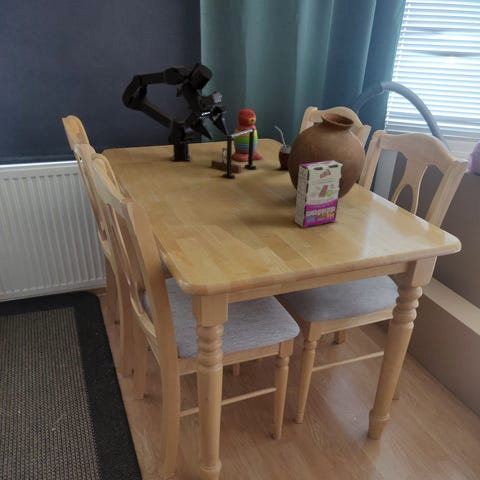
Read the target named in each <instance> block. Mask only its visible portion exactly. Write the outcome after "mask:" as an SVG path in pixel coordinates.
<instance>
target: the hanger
mask: <svg viewBox="0 0 480 480" xmlns="http://www.w3.org/2000/svg"><path fill="white" fill-rule="evenodd" d="M225 151H226V152H227V147H222V148H221V160H219V159H212V160H210V161H211V162H210V163H211V168H214V169H217V170H222V171H226V172H227V161H225ZM231 173H235V174H240V173H242V165H241V164H236V163H232V162H231Z"/></svg>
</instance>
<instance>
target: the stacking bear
mask: <svg viewBox="0 0 480 480" xmlns="http://www.w3.org/2000/svg"><path fill="white" fill-rule="evenodd" d="M237 122H238V124H237V126H236V127H235V130H234V134H235V133H239V132H242V131H245V130H248V129H250V128H254V144H253V161H254V160H255V161H259V160H261V159H262V158H263V157H262V154H261V153H259V152H258V151H257V146H258V131H257V127H256V125H255V123H256V122H257V116H256V113H255V112H254V108H251V107H250V108H249V109H248V108H244V109H239V111H238V114H237ZM232 143H233V147H234V152H233V159H234V160H235V161H238V162H247V161H248V157H249V133H247V134H244V135H241V136H238V137H235V138H233V140H232Z"/></svg>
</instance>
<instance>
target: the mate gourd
mask: <svg viewBox="0 0 480 480" xmlns="http://www.w3.org/2000/svg"><path fill="white" fill-rule="evenodd" d="M274 127H275V128H276V130H278V133H279V134H280V137H281V140H282V144H283V145H282V146H281V147H280V148H279V150H278V151H279V152H278V161H279V165H280V168H279V171H288V158H289V154H290V150H291V147H292V145H291V144H290V145H289V144H286V142H285V139H284V134H283V132H282V130H281V129H280V128H279V127H277V125H274Z"/></svg>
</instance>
